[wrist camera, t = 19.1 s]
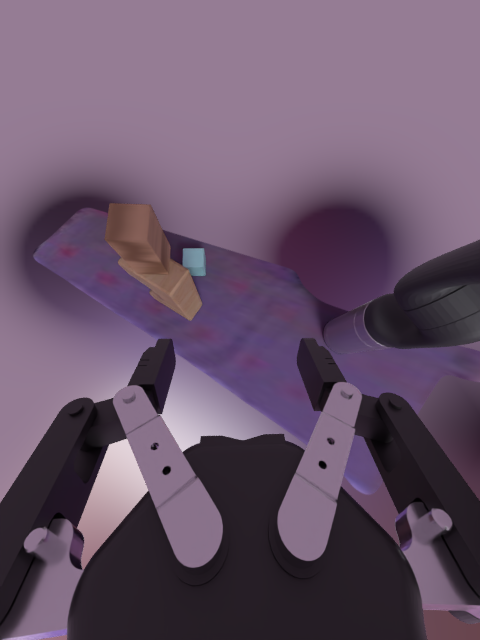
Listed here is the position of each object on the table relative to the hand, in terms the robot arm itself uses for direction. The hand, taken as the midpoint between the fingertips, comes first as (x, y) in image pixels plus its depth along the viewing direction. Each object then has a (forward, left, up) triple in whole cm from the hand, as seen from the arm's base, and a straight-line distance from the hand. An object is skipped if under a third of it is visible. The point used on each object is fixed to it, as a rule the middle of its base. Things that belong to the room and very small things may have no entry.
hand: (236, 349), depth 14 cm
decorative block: (+13, -16, -41) cm, 46 cm away
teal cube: (+9, -25, -41) cm, 49 cm away
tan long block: (+13, -17, -21) cm, 29 cm away
